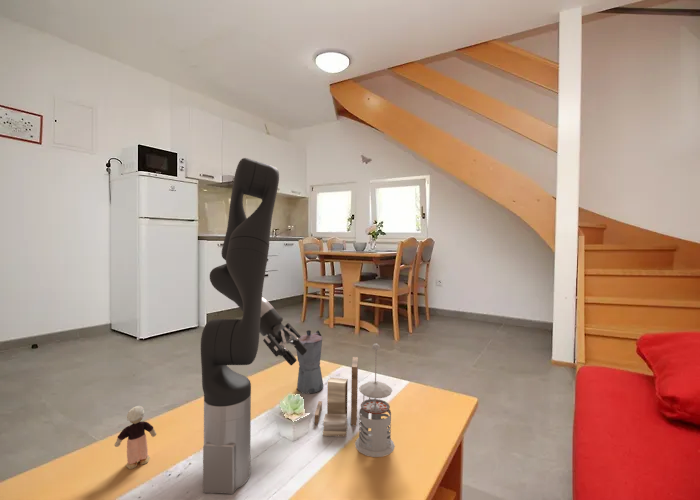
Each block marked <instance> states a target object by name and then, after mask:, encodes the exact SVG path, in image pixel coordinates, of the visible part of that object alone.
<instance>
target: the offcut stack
mask: <svg viewBox="0 0 700 500" xmlns="http://www.w3.org/2000/svg"><path fill="white" fill-rule="evenodd" d="M322 424H323V429H322V436H324V437H345V438H346V437H347V434H348V433H347V431H348V417H347V418H346V414H327V413H324V418H323V423H322Z"/></svg>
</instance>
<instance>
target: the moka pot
mask: <svg viewBox="0 0 700 500" xmlns="http://www.w3.org/2000/svg"><path fill="white" fill-rule="evenodd" d="M311 333H312V331H311V330H310V329H309V330H306V334H303V335H300V336H301V337H300V342H301V343H302V344H303V345H304V347H305V348H306V349H307V352H306V353H305V354H304V355H301V354H300V353H299V352H298V350H297V349H296V348H295V349H296V356H297V358H296V359H297V362H298V374H297V375H298V376H297V384H296V385H297V386H296V387H297V390H298V392H300V393H302V392H303V393H302V394H315V393H317V392H320V391H322V389H323V388H324V380H323V375H322V370H321V369H322V368H321V357H322V345H323V336H322V334H321V332H320V331H319V330H317V331H316V332H313V333H312V334H311Z"/></svg>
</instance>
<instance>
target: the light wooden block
mask: <svg viewBox="0 0 700 500" xmlns="http://www.w3.org/2000/svg"><path fill="white" fill-rule="evenodd" d="M348 381H349V380H348V379H347V378H339V377H330V378H329V379H328V381H327V404H326V405H327V408H326V414H346V418H347V419H348Z"/></svg>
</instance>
